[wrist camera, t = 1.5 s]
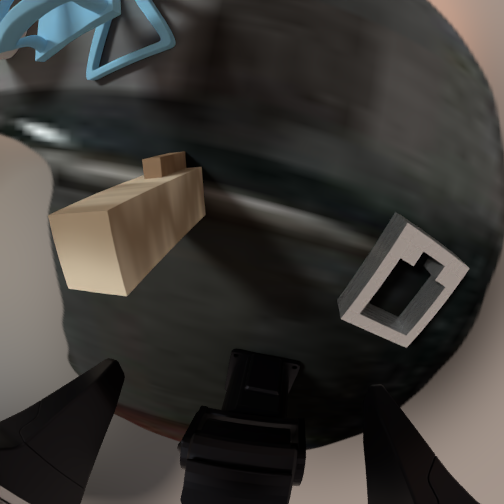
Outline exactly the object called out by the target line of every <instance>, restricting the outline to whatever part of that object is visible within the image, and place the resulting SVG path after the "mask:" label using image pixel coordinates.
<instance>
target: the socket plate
mask: <svg viewBox="0 0 504 504" xmlns="http://www.w3.org/2000/svg"><path fill="white" fill-rule="evenodd" d="M423 252H425V253H427V254H428V255H429V257H428V258H427V260H426V261H425V263H424V264H423V265H424V267H425V268H426V269H427V270H428V272H429V273H430V274H431V275H430V277H429V278H428V279H427V281H426V282H425V284H424V285H423V286H422V288H421V289H420V290H419V292H418V293H417V294H416V296H415V297H414V298H413V300H412V301H411V302H410V303H409V305H408V306H407V307H406V308H405V310H404V311H403V312H402V313H401V315H400V316H399V317H397V316H395V315H393V314H391V313H389V312H387V311H385V310H383V309H381V308H379V307H377V306H375V305H373V304H370V303H368V302H369V301H370V300H371V298H372V297H373V296H374V294H375V293H376V292H377V290H378V289H379V288H380V286H381V285H382V284H383V282H384V281H385V279H386V278H387V277H388V275H389V274H390V272H391V271H392V269H393V268H394V267H395V265H396V264H397V262H398V261H399V259H400V258H401V259H403V260H404V261H406V262H407V263H409V264H411V265H412V266H414V265H415V263H416V262H417V261H418V259H419V258H420V256H421V255H422V253H423ZM468 270H469V267H468V266H467V265H466V264H465V263H464V262H463V261H462V260H461V259H460V258H458V257H457V256H456V255H455V254H454V253H453V252H451V251H450V250H449V249H448V248H446V247H445V246H444V245H442V244H441V243H440V242H438V241H437V240H436V239H434V238H433V237H431V236H430V235H429V234H427V233H426V232H424V231H423V230H422V229H420V228H419V227H417V226H416V225H414V224H413V223H412V222H410V221H409V220H407V219H406V218H404V217H403V216H401V215H400V214H398V213H397V212H395V213H394V215H393V217H392V218H391V220H390V222H389V223H388V225H387V226H386V228H385V230H384V231H383V233H382V235H381V236H380V238H379V239H378V241H377V242H376V244H375V246H374V247H373V249H372V250H371V252H370V253H369V255H368V256H367V258H366V259H365V261H364V262H363V264H362V265H361V267H360V268H359V270H358V271H357V273H356V274H355V275H354V277H353V278H352V280H351V281H350V283H349V284H348V285H347V287H346V288H345V290H344V291H343V292H342V294H341V295H340V297H339V298H338V299H337V302H338V307H339V312H340V318H341V319H342V320H345V321H347V322H349V323H351V324H353V325H356V326H358V327H360V328H362V329H365V330H367V331H369V332H372V333H374V334H376V335H378V336H381V337H383V338H385V339H388V340H390V341H392V342H394V343H397V344H399V345H401V346H404V347H406V348H407V347H408V345H409V344H410V343H411V342H412V341H413V340H414V339H415V338H416V337H417V336H418V334H419V333H420V332H421V331H422V330H423V329H424V328H425V326H426V325H427V324H428V323H429V322H430V320H431V319H432V318H433V317H434V316H435V314H436V313H437V312H438V311H439V309H440V308H441V307H442V306H443V304H444V303H445V302H446V300H447V299H448V298H449V296H450V295H451V294H452V292H453V291H454V290H455V288H456V287H457V286H458V284H459V283H460V281H461V280H462V278H463V277H464V276H465V274H466V273H467V271H468Z"/></svg>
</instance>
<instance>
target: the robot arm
mask: <svg viewBox="0 0 504 504" xmlns="http://www.w3.org/2000/svg"><path fill="white" fill-rule="evenodd" d="M236 354H238V355H236ZM299 369H300V363H299V362H298V361H293V360H288V359H282V358H277V357H272V356H267V355H262V354H258V353H253V352H248V351H244V350H240V349H233V350H232V352H231V356H230V362H229V368H228V373H227V379H226V384H225V390H226V391H227V392H226V395H225V399H224V403H223V406H222V410H218V409H212V408H208V407H207V406H201V407H200V409H199V411H198V412H197V413H196V415H195V416H194V418H193V420H192V422H191V424H190V426H189V428H188V429H187V431H186V433H185V435H184V437H183V439H182V441H181V442H180V443H179V444H178V447H177V449H178V451H179V453H180V465H181V468H182V469H185V477H184V486H183V490H182V495H181V503H182V504H288V503H289V499H290V495H291V490H292V486H299V485H300V484H301V481H302V478H303V474H304V468H305V460H306V441H305V421H304V418H298V419H289V418H286V413H287V401H288V393H289V391H290V389H291V387H292V385H293V382H294V380H295V378H296V376H297V373H298V371H299ZM124 378H125V376H124V372H123V370H122V368H121V366H120V364H119V362H118V361H117V360H114V359H110V358H108V359H106V360H104V361H102V362H101V363H99V364H98V365H96V366H95V367H93V368H91V369H90V370H88V371H87V372H85V373H83V374H82V375H80V376H79V377H77V378H76V379H74V380H73V381H71V382H69V383H68V384H66V385H64V386H63V387H61V388H60V389H58V390H56V391H55V392H53V393H52V394H50V395H48V396H47V397H45V398H44V399H42V400H41V401H39V402H37V403H35V404H34V405H32V406H30V407H29V408H27V409H25V410H23V411H21V412H19V413H17V414H15V415H13V416H11V417H9V418H7V419H5V420H3V421H1V422H0V504H80V503H81V500H82V497H83V494H84V491H85V488H86V485H87V482H88V479H89V477H90V474H91V471H92V468H93V465H94V463H95V460H96V457H97V455H98V452H99V449H100V447H101V444H102V442H103V439H104V436H105V434H106V432H107V429H108V427H109V424H110V422H111V419H112V417H113V414H114V412H115V409H116V406H117V402H118V399H119V395H120V392H121V389H122V386H123V382H124ZM363 444H364V455H365V465H366V479H367V494H368V504H480V503H478V502H477V501H476V500H475V499H474V498H473V497H472V496H471V495H470V494H469V493H468V492H467V491H466V490H465V489H464V488H463V487H462V486H461V485H460V484H459V483H458V482H457V481H456V480H455V479H454V477H453V476H452V475H451V474H450V473H449V472H448V471H447V469H446V468H445V467H444V465H443V464H442V463H441V461H440V460H439V459H438V458H437V456H435V454H434V452H433V451H432V450H431V448H430V447H429V446H428V444H427V443H426V441H425V440H424V439H423V438H422V436H421V435H420V433H419V432H418V431H417V430H416V428H415V427H414V425H413V424H412V423H411V422H410V420H409V419H408V418H407V416H406V415H405V414H404V412H403V411H402V410H401V408H400V407H399V406H398V404H397V403H396V402H395V401H394V399H393V398H392V397H391V395H390V394H389V393H388V392H387V390H386V389H385V388H384V386H383V385H380V384H379V385H371V386H370V387H369V389H368V391H367V393H366V396H365V398H364V402H363Z"/></svg>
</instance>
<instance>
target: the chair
mask: <svg viewBox="0 0 504 504" xmlns="http://www.w3.org/2000/svg"><path fill="white" fill-rule="evenodd" d="M13 1H14V0H1V2H0V53H2V52H6V51H11V50H15V49H18V48H22V47H32V48H34V49H35V50H36V56H35V61H39V62H45V61H46V60H48V59H49V58H50V57H52V56H53V55H55V54H56V53H57V52H59V51H60V50H61V49H62V48H63V47H65V46H66V45H67V44H68V43H70V42H71V41H73V40H74V39H76V38H78V37H79V36H81V35H82V34H84V33H86V32H88V31H90V30H92V29H94V28H96V30H95V33H94V37H93V41H92V45H91V49H90V53H89V58H88V64H87V71H86V77H87V80H98V79H100V78H102V77H104V76H106V75H108V74H110V73H112V72H114V71H116V70H119V69H121V68H123V67H125V66H127V65H130V64H132V63H134V62H137V61H139V60H142V59H144V58H147V57H149V56H152V55H155V54H157V53H160V52H163V51H166V50H168V49H171V48H173V47H174V46H175V43H176V42H175V38H174V36H173V33H172V31H171V30H170V28H169V26H168V25H167V23H166V21H165V20H164V18H163V17H162V15H161V13H160V12H159V10H158V9H157V7H156V6H155V4H154V3H153V1H152V0H135V1H136V3H137V4H138V6H139V7H140V8H141V10H142V11H143V13H144V14H145V16H146V17H147V18H148V20H149V21H150V23H151V24H152V25H153V27H154V28H155V30H156V31H157V33H158V34H159V36H160V39H161V40H160V41H159V42H157V43H155V44H152V45H149V46H147V47H144V48H142V49H139V50H137V51H134V52H132V53H130V54H127V55H125V56H123V57H121V58H118V59H116V60H114V61H112V62H110V63H108V64H106V65H104V66H102V67H100V68H99V64H100V60H101V56H102V52H103V48H104V45H105V41H106V38H107V34H108V31H109V28H110V24H111V21H112V19H113V18H115V17H117V16H119V15H121V0H22V1H21V2H19V3H18V4H17V5H16V6H14V7H13V8H12V9H11V10H10V11H9V8H10V6H11V4H12V3H13ZM8 11H9V12H8ZM38 19H39V23H38V33H37V35H30V36H26V37H23V38H21V37H22V35H23V34H24V33H25V32H26V31H27V30H28V28H29V27H30V26H32V25H33V24H34V23H35V22H36V21H37V20H38Z"/></svg>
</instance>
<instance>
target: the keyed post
mask: <svg viewBox="0 0 504 504" xmlns="http://www.w3.org/2000/svg"><path fill="white" fill-rule="evenodd" d="M142 161H143V171H144V175H143V176H140V177H138V178H135V179H132V180H130V181H127V182H124V183H122V184H119V185H117V186H114V187H111V188H109V189H106V190H104V191H102V192H99V193H97V194H94V195H92V196H90V197H87V198H85V199H83V200H80V201H78V202H76V203H74V204H72V205H69V206H67V207H65V208H63V209H61V210H59V211H56V212H54V213H52V214H50V215H48V217H49V221H50V226H51V230H52V234H53V238H54V242H55V246H56V249H57V253H58V256H59V260H60V263H61V267H62V270H63V273H64V276H65V279H66V282H67V285H68V288H69V289H76V290H82V291H90V292H97V293H105V294H113V295H121V296H128V295H129V294H130V292H131V291H132V290H133V289H134V288H135V287H136V286H137V285H138V284H139V283H140V282H141V280H142V279H143V278H144V277H145V276H146V275H147V274H148V273H149V272H150V271H151V270H152V269H153V268H154V267H155V266H156V264H157V263H158V262H159V261H160V260H161V259H162V258H163V257H164V256H165V255H166V254H167V253H168V252H169V251H170V250H171V249H172V248H173V247H174V246H175V245H176V244H177V243H178V242H179V241H180V240H181V239H182V238H183V237H184V236H185V235H186V234H187V233H188V232H189V231H190V230H191V229H192V228H193V227H194V226H195V225H196V224H197V223H198V222H199V221H200V220H201V219H202V218H203V217H204V216H205V215H206V214H205V203H204V191H203V179H202V167H194V168H186V158H185V152H176V153H168V154H164V155H159V156H155V157H151V158H147V159H143V160H142Z"/></svg>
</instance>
